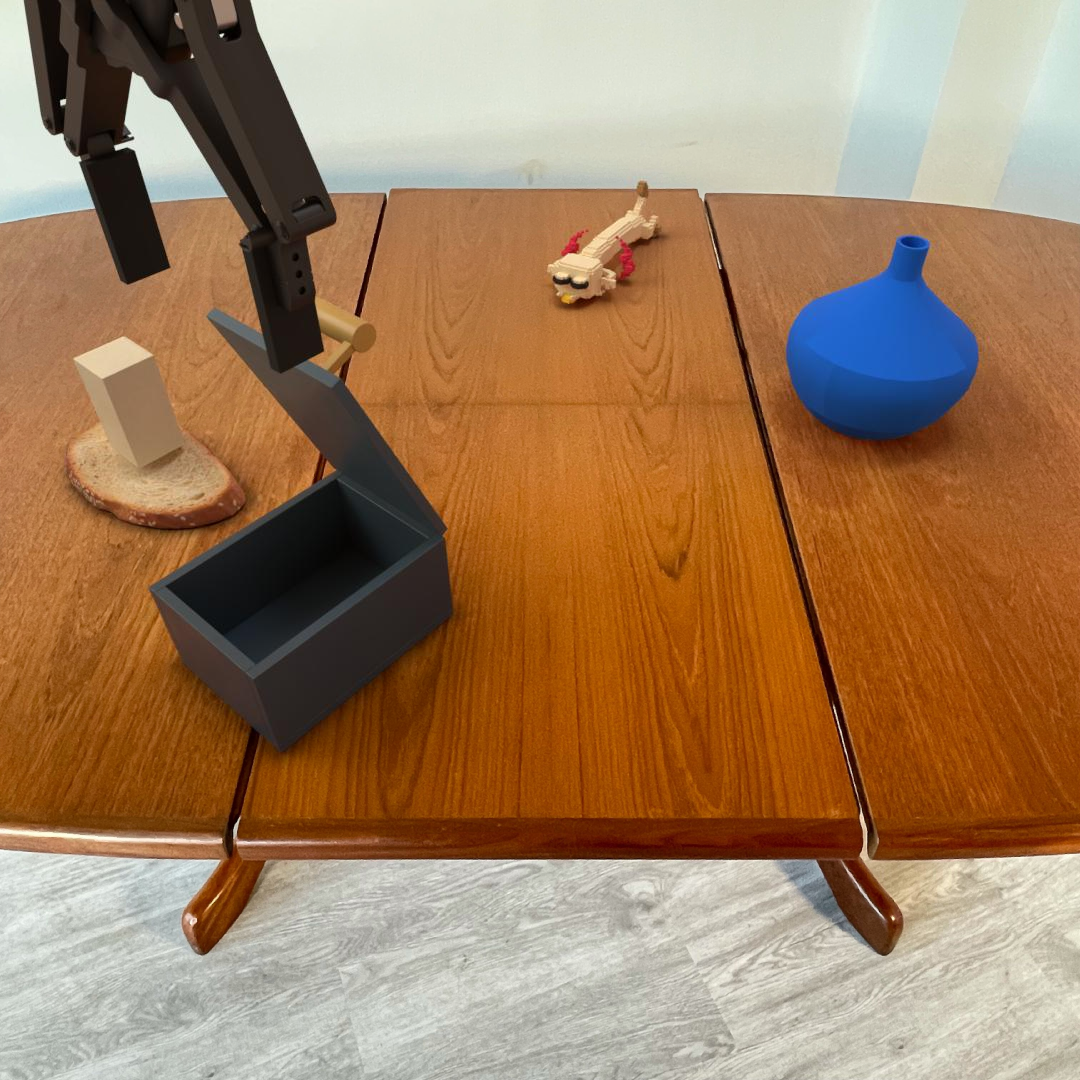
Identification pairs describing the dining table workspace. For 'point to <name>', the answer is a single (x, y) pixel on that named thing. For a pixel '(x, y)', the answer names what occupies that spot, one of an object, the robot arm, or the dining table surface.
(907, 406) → the vase
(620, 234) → the cream long figure
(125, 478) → the bread slice
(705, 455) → the dining table surface
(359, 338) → the chest lid
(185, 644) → the chest
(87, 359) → the block
